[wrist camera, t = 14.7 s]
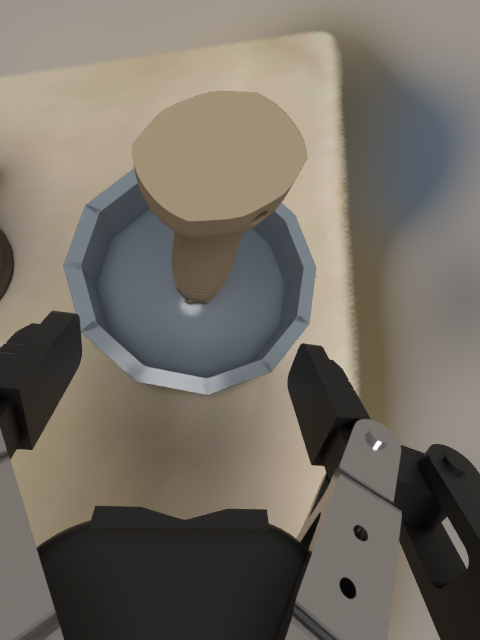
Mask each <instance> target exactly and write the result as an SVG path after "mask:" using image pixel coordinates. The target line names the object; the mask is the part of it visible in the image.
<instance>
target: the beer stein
mask: <svg viewBox="0 0 480 640" xmlns="http://www.w3.org/2000/svg"><path fill="white" fill-rule="evenodd" d="M12 265H13V260H12V253H11V247H10V244H9V242H8V240H7V238H6V236H5V234H4V233H3V232H2V230H1V229H0V297H1V296H2V295H3V293H4V292H5V290H6V287H7V285H8V282H9V280H10V277H11V274H12Z"/></svg>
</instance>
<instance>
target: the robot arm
mask: <svg viewBox="0 0 480 640" xmlns="http://www.w3.org/2000/svg"><path fill="white" fill-rule="evenodd" d="M81 356H82V343H81V328H80V318H79V315H78V314H74V313H66V312H58V311H52V312H51V313H50V314H49V315H48V316H47V317H46V318H45V319H44V320H43V321H42V323H41V324H34V323H32V324H30V325H28V326H26V327H24V328H22V329H20V330H19V331H17V332H16V333H15V334H14V335H13V336H12V337H11V338H10V339H9V340H8V341H7V343H6V344H4V345H3V346H2V347H1V348H0V640H387V636H388V627H389V619H390V610H391V602H392V594H393V585H394V577H395V568H396V561H397V552H398V544H399V541H400V544H401V546H402V548H403V551H404V553H405V556H406V558H407V561H408V563H409V565H410V568H411V570H412V572H413V575H414V577H415V580H416V582H417V584H418V587H419V589H420V592H421V594H422V596H423V599H424V601H425V604H426V606H427V608H428V611H429V613H430V616H431V618H432V620H433V623H434V625H435V628H436V630H437V632H438V635H439V637H440V639H441V640H480V474H479V472H478V471H477V470H476V468H475V467H474V466H473V465H472V463H471V462H470V461H469V460H468V459H467V458H465V457H464V456H463V455H462V454H460V453H459V452H457V451H456V450H454V449H452V448H450V447H448V446H445V445H441V444H433V445H431V446H430V447H429V449H428V450H427V451H426V452H425V453H422V452H419V451H416V450H414V449H411V448H408V447H405V446H402V445H400V443H399V441H398V439H397V438H396V436H395V435H394V434H393V433H392V432H391V431H390V430H389V429H388V428H386V427H385V426H383V425H382V424H380V423H378V422H375V421H373V420H371V419H370V417H369V415H368V413H367V412H366V410H365V408H364V406H363V404H362V403H361V401H360V399H359V397H358V396H357V394H356V392H355V390H353V387H352V385H351V383H350V382H348V378H347V376H346V374H345V373H344V371H343V369H342V368H341V367H340V366H339V365H338V364H336V363H335V362H334V361H333V360H329V358H328V356H327V354H326V352H325V350H324V349H323V347H322V346H318V345H310V344H301V345H300V347H299V349H298V351H297V354H296V356H295V359H294V361H293V364H292V367H291V369H290V372H289V375H288V390H289V394H290V397H291V400H292V403H293V407H294V410H295V413H296V416H297V420H298V423H299V426H300V430H301V433H302V436H303V439H304V443H305V446H306V449H307V452H308V456H309V459H310V462H311V465H318V466H324V467H325V470H326V473H325V475H324V477H323V479H322V481H321V484H320V486H319V489H318V491H317V493H316V496H315V498H314V501H313V503H312V506H311V508H310V510H309V513H308V515H307V518H306V520H305V523H304V525H303V527H302V529H301V531H300V533H299V535H298V537H297V539H295V538H294V537H293V536H292V535H290V534H289V533H287V532H285V531H284V530H282V529H280V528H278V527H276V526H274V525H271V524H269V523H268V516H267V510H259V509H225V510H221V511H218V512H214V513H210V514H207V515H203V516H199V517H196V518H192V519H188V520H182V519H178V518H175V517H172V516H168V515H165V514H162V513H159V512H155V511H152V510H149V509H146V508H142V507H118V506H95V509H94V512H93V516H92V519H91V521H87V522H84V523H81V524H78V525H75V526H73V527H70V528H68V529H66V530H64V531H62V532H60V533H58V534H56V535H55V536H53V537H52V538H50V539H48V540H47V541H45V542H44V543H42V544H41V545H40V546H38V547H37V548H36V545H35V542H34V538H33V535H32V532H31V528H30V525H29V522H28V518H27V515H26V511H25V508H24V505H23V501H22V498H21V495H20V491H19V488H18V485H17V481H16V478H15V475H14V471H13V468H12V465H11V461H10V459H11V458H12V456H13V454H14V453H15V451H16V449H27V450H33V448H34V446H35V444H36V442H37V441H38V439H39V437H40V435H41V433H42V432H43V430H44V428H45V426H46V425H47V423H48V421H49V419H50V417H51V416H52V414H53V412H54V410H55V408H56V407H57V405H58V403H59V401H60V399H61V398H62V396H63V394H64V392H65V391H66V389H67V387H68V385H69V383H70V382H71V380H72V378H73V376H74V374H75V373H76V371H77V369H78V367H79V364H80V361H81ZM447 516H448V518H449V520H450V522H451V523H452V525H453V527H454V529H455V530H456V532H457V534H458V535H459V537H460V539H461V541H462V543H463V544H464V546H465V548H466V551H467V553H468V557H469V566H468V569H467V568H466V567H465V565H464V563H463V561H462V559H461V557H460V556H459V554H458V552H457V550H456V548H455V546H454V545H453V543H452V541H451V539H450V537H449V536H448V534H447V532H446V530H445V528H444V527H443V525H442V523H441V522H442V521H443V520H444V519H445V518H446V517H447Z"/></svg>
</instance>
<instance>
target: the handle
mask: <svg viewBox="0 0 480 640" xmlns="http://www.w3.org/2000/svg"><path fill="white" fill-rule="evenodd" d="M132 156H133V164H134V169H135V175H136V180H137V183H138V186H139V189H140V191H141V194H142V196H143V198H144V200H145V201H146V203H147V205H148V206H149V208H150V209H151V211H152V212H153V213H154V214H155V215H156V217H157V218H158V219H159V220H160V221H161V222H162V223H164V224H165V225H166V226H167V227H168V228H170V229H171V230H173V231H175V232H174V240H173V248H172V273H173V278H174V282H175V284H176V289H177V291H178V292H180V293H181V294H182V295H183V297H184V300H185V302H186V303H187V304H189V305H190V304H192V303H203V304H207V303H209V302H210V301H211V300H212V299H213V297H214V296H215V295H216V294H217V293H218V292H219V291H220V289H221V288H222V286H223V285H224V283H225V282H226V280H227V278H228V276H229V274H230V272H231V270H232V267H233V264H234V260H235V257H236V254H237V250H238V247H239V244H240V241H241V237H242V234H243V232H244V231H247V230H249V229H251V228H254V227H255V226H256V225H258V224H259V223H260V222H262V221H263V220H264V219H265V218H267V217H268V216H269V215H270V214H272V213H273V212H274V211H275V210H276V209H277V208H278V206H279V205H280V204H281V202H282V201H283V200H284V198H285V196H286V195H287V193H288V191H289V190H290V188H291V187H292V185H293V183H294V181H295V180H296V178H297V176H298V174H299V173H300V171H301V169H302V167H303V166H304V164H305V162H306V160H307V150H306V146H305V142H304V139H303V137H302V135H301V133H300V131H299V130H298V128H297V127H296V125H295V124H294V122H293V121H292V119H291V118H290V117H289V116H288V115H287V114H286V113H285V111H284V110H282V109H281V108H280V107H279V106H278V105H277V104H276V103H274V102H273V101H271V100H270V99H268V98H266V97H265V96H263V95H261V94H259V93H254V92H235V91H217V92H208V93H204V94H201V95H197V96H195V97H192V98H190V99H187V100H185V101H182V102H179V103H177V104H174V105H172V106H170V107H169V108H167V109H165V110H163V111H162V112H161V113H160V114H158V115H157V116H156V117H155V118H154V119H153V120H152V121H151V123H150V124H149V125H148V126H147V127H146V128H145V129H144V131H143V132H142V133H141V134H140V135H139V137H138V138H137V139H136V140H135V141H134V143H133V146H132Z"/></svg>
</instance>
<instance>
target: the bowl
mask: <svg viewBox="0 0 480 640" xmlns="http://www.w3.org/2000/svg"><path fill="white" fill-rule="evenodd" d="M174 232H175V231H173V230H171V229H170V228H168V227H167V226H166V225H165V224H164V223H162V222H161V221H160V220H159V219H158V218H157V217H156V215H155V214H154V213H153V212H152V211H151V209H150V208H149V206H148V205H147V203H146V201H145V200H144V198H143V196H142V194H141V191H140V189H139V186H138V183H137V180H136V175H135V169H133V170H131V171H130V172H129V173H127V174H126V175H125V176H123V177H122V178H121V179H119V180H118V181H117V182H115V183H114V184H113V185H111V186H110V187H109V188H107V189H106V190H105V191H103V192H102V193H101V194H99V195H98V196H97V197H95V198H94V199H93V200H91V201H90V202H89V203H87V204H86V205H85V207H84V210H83V213H82V216H81V218H80V221H79V224H78V226H77V229H76V232H75V235H74V237H73V240H72V243H71V246H70V248H69V251H68V254H67V256H66V259H65V262H64V265H63V266H64V270H65V274H66V278H67V281H68V285H69V289H70V293H71V297H72V300H73V304H74V308H75V312H76V314H78V315H79V318H80V328H81V333H82V334H84V335H85V336H86V337H87V338H88V339H89V340H90V341H91V342H92V343H94V344H95V345H96V346H97V347H98V348H99V349H100V350H101V351H103V352H104V353H105V354H106V355H107V356H108V357H109V358H110V359H111V360H113V361H114V362H115V363H116V364H117V365H118V366H119V367H120V368H122V369H123V370H124V371H125V372H126V373H127V374H128V375H129V376H130V377H132V378H133V379H134V380H135V381H136V382H140V383H145V384H150V385H156V386H161V387H166V388H172V389H177V390H182V391H187V392H193V393H198V394H203V395H209V394H212V393H215V392H217V391H220V390H223V389H226V388H228V387H231V386H234V385H237V384H239V383H242V382H245V381H248V380H250V379H253V378H256V377H259V376H261V375H264V374H267V373H270V372H272V370H273V369H274V368H275V367H276V365H277V364H278V363H279V362H280V360H281V359H282V358H283V357H284V355H285V354H286V353H287V352H288V350H289V349H290V348H291V346H292V345H293V344H294V343H295V341H296V340H297V339H298V338H299V336H300V335H301V334H302V333H303V331H304V330H305V329H306V328H307V326H308V325H309V322H310V314H311V306H312V298H313V290H314V281H315V273H316V266H315V263H314V261H313V258H312V256H311V253H310V251H309V248H308V246H307V243H306V241H305V238H304V236H303V233H302V231H301V228H300V226H299V223H298V221H297V218H296V216H295V215H294V214H293V213H292V212H291V211H290V210H289V209H288V208H287V207H286V206H284V205H283V204H282V203H281V204H280V205H279V206H278V208H277V209H276V210H275V211H274V212H273V213H272V214H270V215H269V216H268V217H267V218H265V219H264V220H263V221H262V222H260V223H259V224H258V225H256V226H255V227H254V228H251V229H249V230H247V231H244V232H243V234H242V237H241V241H240V244H239V247H238V250H237V254H236V257H235V260H234V264H233V267H232V270H231V272H230V274H229V276H228V278H227V280H226V282H225V283H224V285H223V286H222V288H221V289H220V291H219V292H218V293H217V294H216V295H215V296H214V297H213V299H212V300H211V301H210V302H209V303H207V304H203V303H192V304H190V305H189V304H187V303H186V302H185V300H184V297H183V295H182V294H181V293H180V292H178V291H177V289H176V284H175V282H174V278H173V273H172V248H173V240H174Z"/></svg>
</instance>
